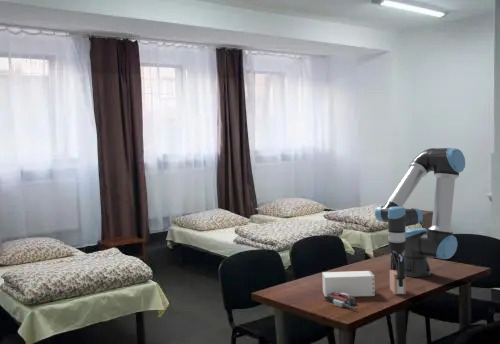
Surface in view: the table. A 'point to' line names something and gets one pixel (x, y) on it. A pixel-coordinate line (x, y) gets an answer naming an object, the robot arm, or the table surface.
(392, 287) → the peach rectangular block
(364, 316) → the table surface
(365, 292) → the block
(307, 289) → the table surface
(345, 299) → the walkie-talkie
